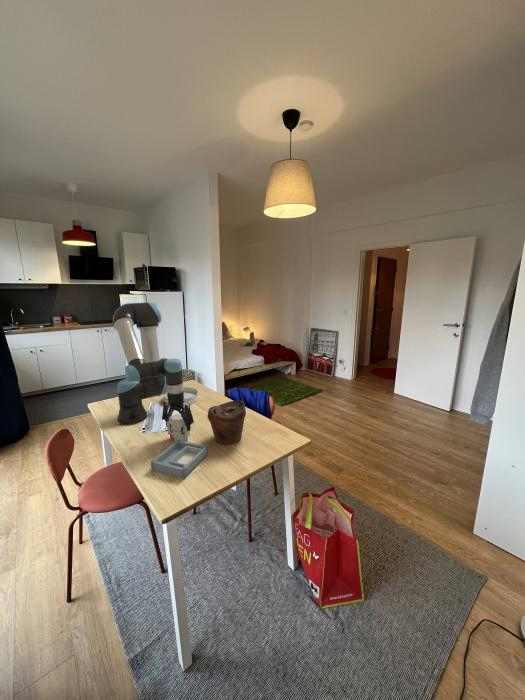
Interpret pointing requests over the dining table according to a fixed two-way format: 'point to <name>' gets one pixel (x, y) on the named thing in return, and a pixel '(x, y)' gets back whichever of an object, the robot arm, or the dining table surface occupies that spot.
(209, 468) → the dining table surface
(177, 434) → the ink box
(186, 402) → the dish
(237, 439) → the brown pot
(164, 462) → the walled box
